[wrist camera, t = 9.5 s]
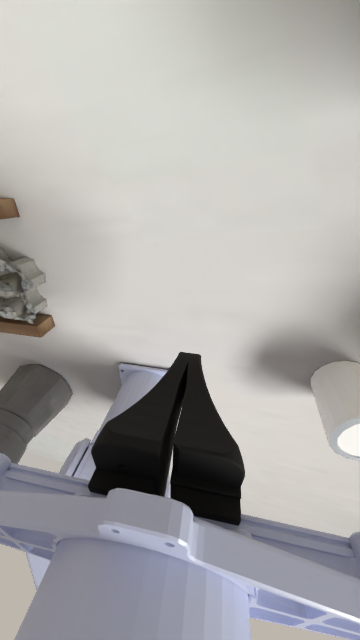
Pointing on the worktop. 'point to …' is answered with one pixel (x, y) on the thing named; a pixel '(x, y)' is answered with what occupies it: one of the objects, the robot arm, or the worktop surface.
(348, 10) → the worktop surface
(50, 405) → the coffeepot
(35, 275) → the egg carton
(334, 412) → the shot glass
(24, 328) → the walnut bracket
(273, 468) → the worktop surface
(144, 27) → the worktop surface
